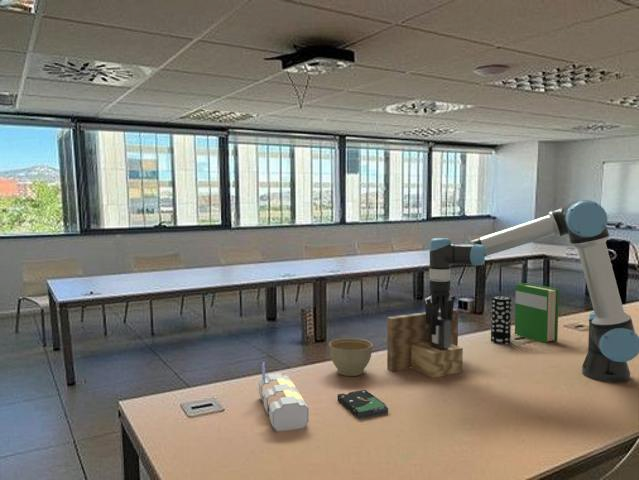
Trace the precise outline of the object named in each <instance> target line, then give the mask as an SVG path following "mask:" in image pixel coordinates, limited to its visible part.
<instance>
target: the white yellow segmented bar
mask: <svg viewBox="0 0 639 480" xmlns="http://www.w3.org/2000/svg"><path fill="white" fill-rule="evenodd" d="M265 367H266V362H264V361H263V362H262V365H261V368H262V371H261V378H260V379H259V380H258V395H259V397H260V399H261V401H262V402H263V406H264V409H265V411H266V413H267V415H269V421H270V423H271V426H272V428H273V429H274V430H275V432H284V431H291V430H298V429H304V428H306V426H307V425H308V423H309V421H310V420H309V419H310V417H309V415H310V414H309V406H308V405H307V403H306V401H305V400H304V398H303V397H302V395H301V393H300V392H299V391H298V389H297V387H296V386H295V384H294V382H293V380H292V378H290V377H289V376H288V375H285V374H284V375H282V373H281V372H279V373H278V372H277V373H269V374H267V375H266V368H265ZM271 381H277V383H278V384H274V385H273V386H272V387H270V388H267V389H265V390H264V391H263V386H264V385H268V384H270V383H271ZM282 392H283V393H284V395H285V396H282V397H279V398H278V399H277V400H274V401H272V402H271V403H270V404H269V400H268V399H269V398H270V397H272V396H273V397H274V396H276V395H277V393H282Z"/></svg>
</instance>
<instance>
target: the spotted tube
mask: <svg viewBox="0 0 639 480" xmlns="http://www.w3.org/2000/svg"><path fill="white" fill-rule="evenodd" d="M490 309H491V311H490V312H491V314H490V315H491V316H490V319H491V320H490V321H491V322H490V342H491V343H494V344H498V345H509V344H511V336H512V335H511V333H512V332H511V331H512V328H511V327H512V326H511V325H512V320H511V319H512V297H509V296H503V295H502V296H501V295H497V296H496V295H494V296H492V297H491V308H490Z"/></svg>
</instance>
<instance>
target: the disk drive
mask: <svg viewBox="0 0 639 480" xmlns="http://www.w3.org/2000/svg"><path fill="white" fill-rule="evenodd" d="M337 402H338V403H339V404H341V405H342V406H343V407H344V408H346V410H347V411H349V412H350V413H351V414H352V415H353V416H354V417H355V418H357V419H358V420H362V419H366V418H370V417H376V416H381V415H386V414H389V407H388V406H387V404H386V403H384V402H383V401H382V400H380V399H379V398H377V397H376V396H375V395H373V394H372V393H371V392H370V391H368V390H367V389H362V390H361V389H360V390H356V391H349V392H348V393H347V394H345V393H338V394H337Z"/></svg>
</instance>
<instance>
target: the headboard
mask: <svg viewBox="0 0 639 480" xmlns="http://www.w3.org/2000/svg"><path fill="white" fill-rule="evenodd" d="M438 317H441V310H440V309H439V313H438ZM386 323H387V326H386V327H387V328H386V329H387V331H386V332H387V336H386V337H387V341H386V343H387V345H386V348H387V349H386V350H387V352H386V354H387V357H386V358H387V359H386V361H387V362H386V364H387V366H386V367H387V370H388V369H389V370H388V371H390V372H396V370H397V371H401V370H406V369H413V370H415V371H418V372H419V373H422V374H424V375H426V376H427V377H430V378H431V379H434V378H440V377H444V376H449V375H453V374H458V373H463V362H464V361H463V360H464V359H463V355H464V354H463V353H464V351H463V349H464V348H463V347H460V346H458V345H459V343H458V342H459V341H458V340H459V309H456V308H453V319H452V322H451V345H450V347H449V348H447V349H445V350H439V349H436V348H434V347H432V344H431V343H429V342H428V324H427V323H426V311H424V312H417V313H409V314H400V315H394V316H388V317H387V322H386Z"/></svg>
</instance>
